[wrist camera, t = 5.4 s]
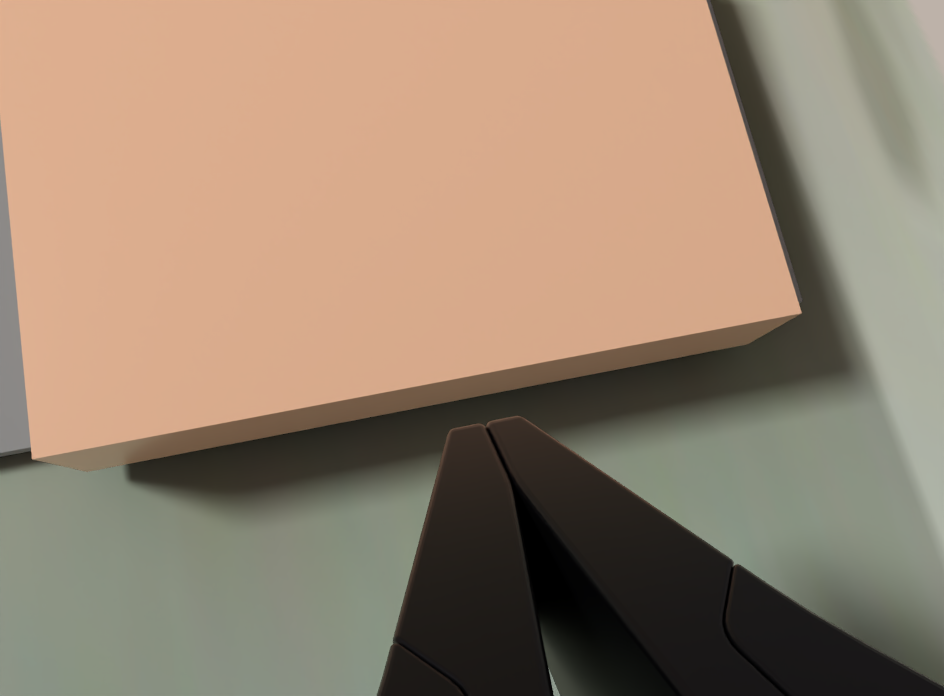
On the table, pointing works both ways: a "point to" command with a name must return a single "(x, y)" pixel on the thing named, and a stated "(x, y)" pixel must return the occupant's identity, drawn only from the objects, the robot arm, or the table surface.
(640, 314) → the terracotta tile
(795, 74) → the table surface
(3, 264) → the mat
